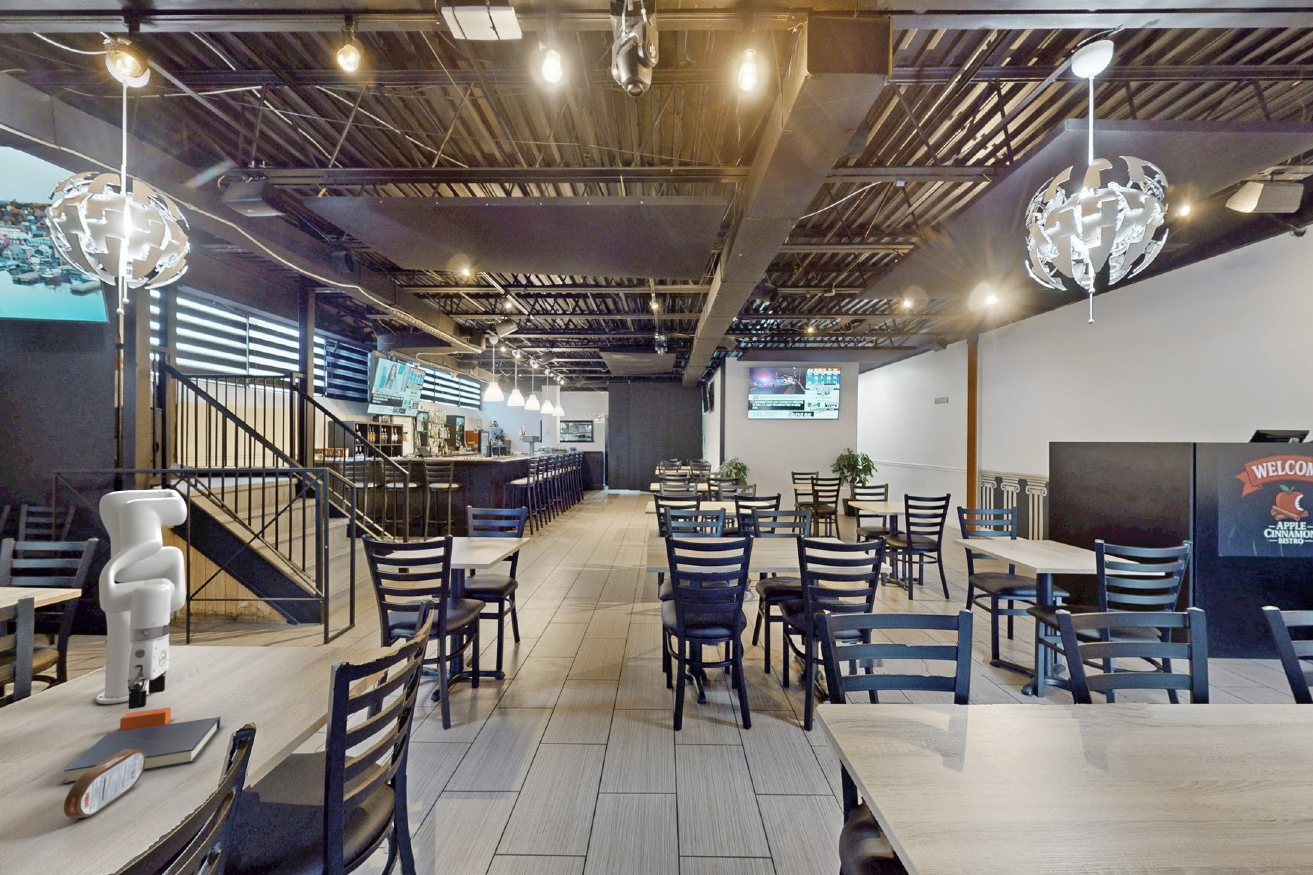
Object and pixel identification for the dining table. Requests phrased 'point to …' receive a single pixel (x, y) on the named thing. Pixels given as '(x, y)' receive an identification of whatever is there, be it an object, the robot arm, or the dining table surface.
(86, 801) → the tin
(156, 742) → the book
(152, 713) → the long orange block
